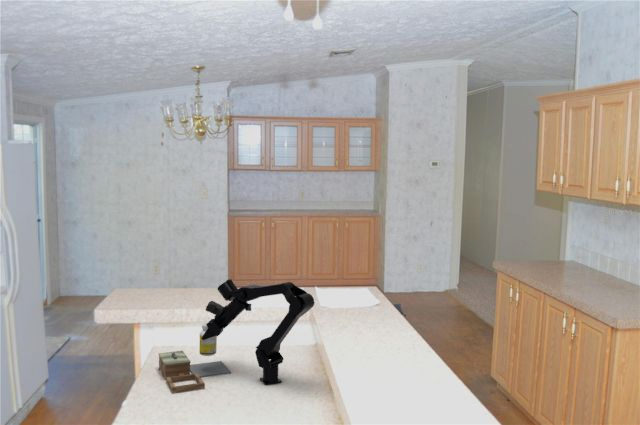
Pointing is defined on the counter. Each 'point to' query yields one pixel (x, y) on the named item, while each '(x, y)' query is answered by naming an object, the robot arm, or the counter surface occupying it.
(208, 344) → the pill bottle
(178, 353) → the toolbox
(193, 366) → the slate mat
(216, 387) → the counter surface
